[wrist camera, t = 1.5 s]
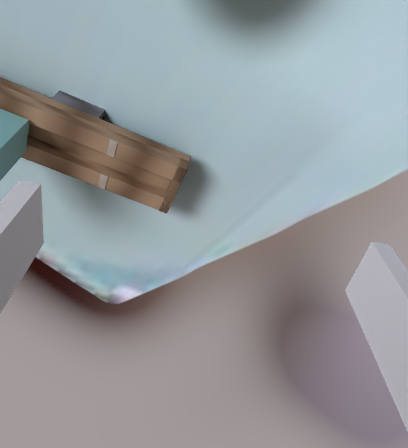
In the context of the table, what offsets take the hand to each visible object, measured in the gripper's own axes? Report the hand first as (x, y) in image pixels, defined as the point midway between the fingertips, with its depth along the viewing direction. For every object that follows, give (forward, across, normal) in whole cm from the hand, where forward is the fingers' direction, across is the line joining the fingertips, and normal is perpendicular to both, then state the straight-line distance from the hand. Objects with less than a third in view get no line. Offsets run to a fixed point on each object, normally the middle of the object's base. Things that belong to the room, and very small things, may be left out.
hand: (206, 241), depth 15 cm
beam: (+30, -13, -8) cm, 34 cm away
